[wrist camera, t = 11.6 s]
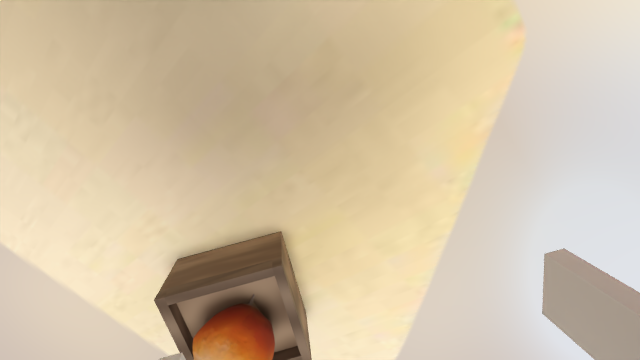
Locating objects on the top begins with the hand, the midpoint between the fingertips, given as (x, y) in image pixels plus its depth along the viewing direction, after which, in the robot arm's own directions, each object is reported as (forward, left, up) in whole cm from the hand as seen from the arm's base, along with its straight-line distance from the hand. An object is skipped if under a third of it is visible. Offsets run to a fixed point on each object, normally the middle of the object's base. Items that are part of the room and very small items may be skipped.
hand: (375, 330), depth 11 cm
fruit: (+15, -12, -21) cm, 28 cm away
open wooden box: (+15, -12, -26) cm, 32 cm away
